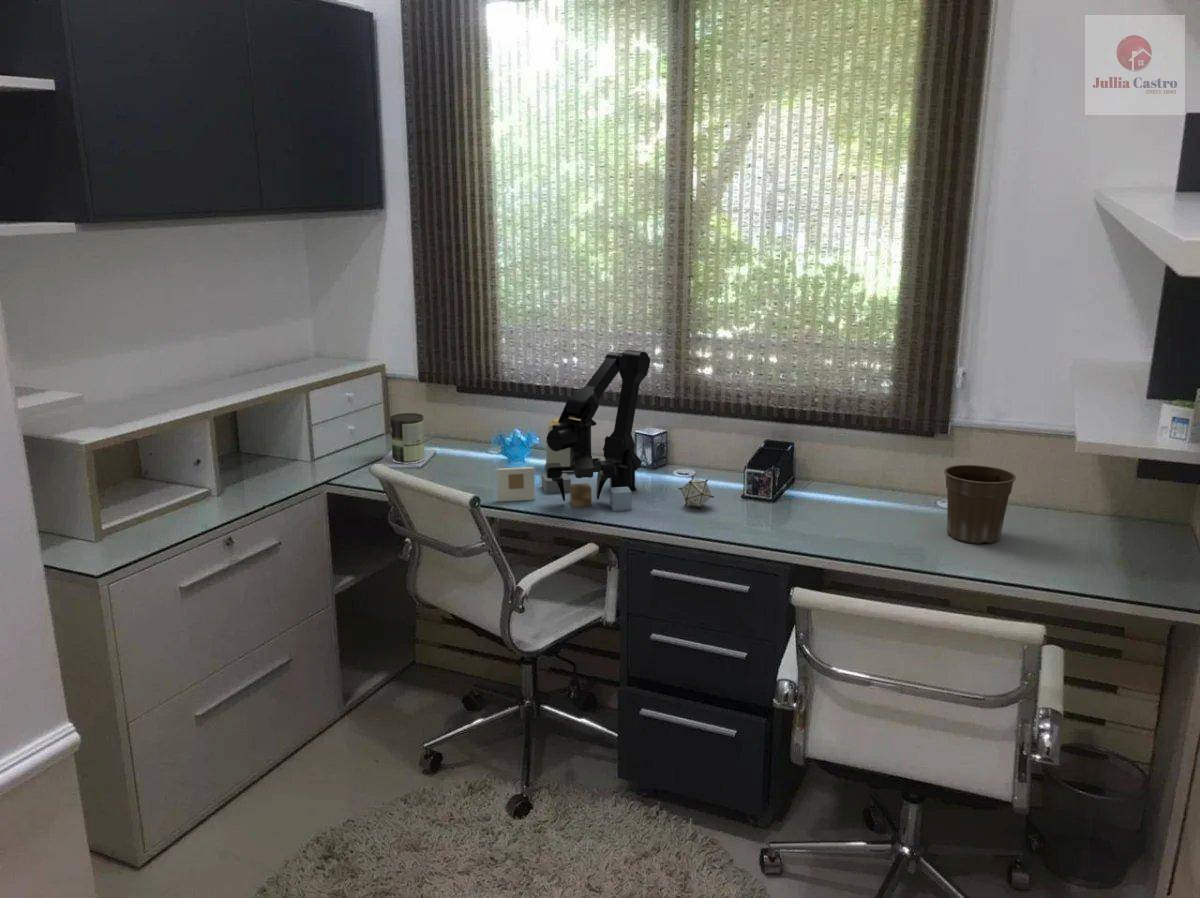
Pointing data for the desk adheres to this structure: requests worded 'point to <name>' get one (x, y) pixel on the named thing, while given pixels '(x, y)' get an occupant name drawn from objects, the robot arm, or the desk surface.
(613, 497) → the slate blue cube
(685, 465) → the desk surface
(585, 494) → the walnut cube
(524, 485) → the plaque
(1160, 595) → the desk surface
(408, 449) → the coffee can
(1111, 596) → the desk surface
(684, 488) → the game die
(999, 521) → the plant pot
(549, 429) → the jar
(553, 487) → the base block
